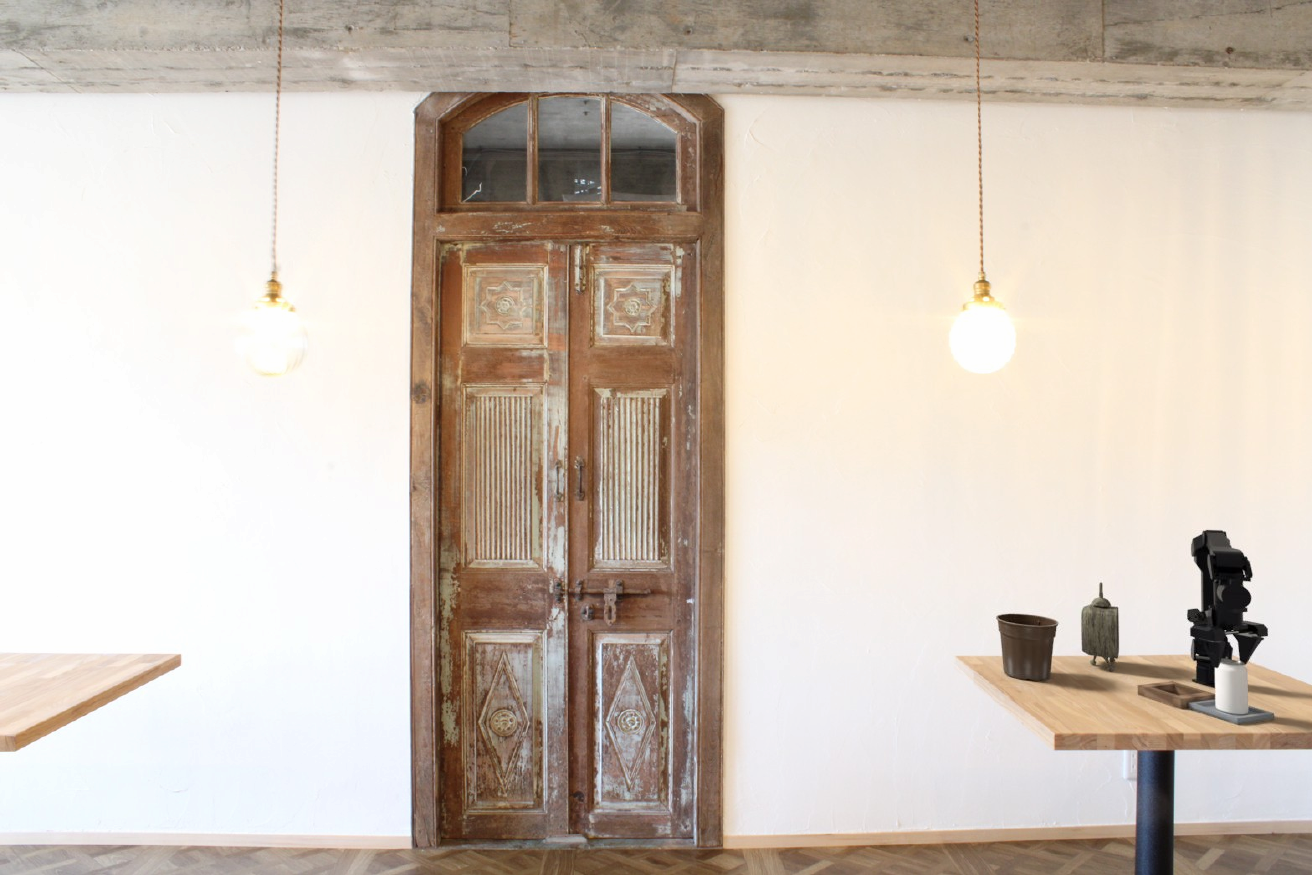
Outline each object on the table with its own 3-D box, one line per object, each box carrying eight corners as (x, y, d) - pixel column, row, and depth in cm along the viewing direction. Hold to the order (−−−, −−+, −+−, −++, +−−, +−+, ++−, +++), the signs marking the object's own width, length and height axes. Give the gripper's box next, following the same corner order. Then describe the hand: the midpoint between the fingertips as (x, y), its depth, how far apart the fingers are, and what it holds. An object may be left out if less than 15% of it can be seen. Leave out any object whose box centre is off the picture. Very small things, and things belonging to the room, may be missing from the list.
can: (1254, 716, 185) (1253, 666, 185) (1223, 714, 186) (1222, 664, 187) (1239, 707, 191) (1238, 659, 192) (1210, 706, 193) (1209, 657, 193)
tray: (1223, 703, 196) (1223, 698, 196) (1274, 719, 185) (1273, 713, 185) (1188, 708, 193) (1188, 702, 193) (1237, 724, 181) (1237, 718, 181)
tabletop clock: (1117, 674, 223) (1115, 587, 223) (1081, 669, 228) (1080, 584, 228) (1119, 662, 235) (1118, 580, 236) (1085, 658, 240) (1084, 578, 241)
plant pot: (1070, 677, 220) (1069, 620, 220) (1039, 687, 211) (1038, 627, 211) (1016, 664, 233) (1015, 611, 234) (985, 673, 224) (984, 617, 225)
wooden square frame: (1172, 690, 207) (1171, 681, 208) (1216, 704, 196) (1216, 694, 196) (1137, 694, 204) (1137, 685, 204) (1180, 708, 192) (1180, 698, 192)
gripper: (1223, 594, 200) (1224, 655, 199) (1168, 598, 194) (1170, 660, 194) (1268, 602, 189) (1270, 666, 189) (1212, 606, 183) (1213, 672, 183)
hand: (1229, 666), depth 189 cm, fingers open, 9 cm apart
